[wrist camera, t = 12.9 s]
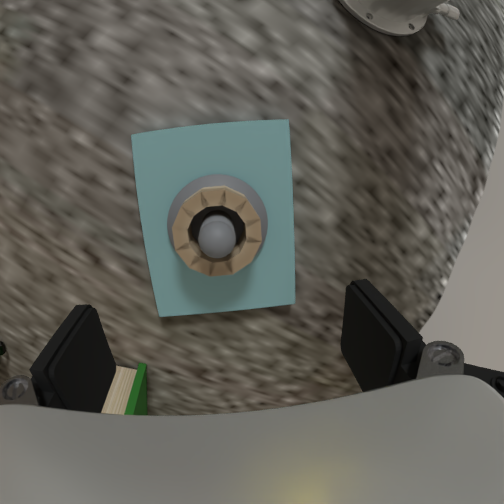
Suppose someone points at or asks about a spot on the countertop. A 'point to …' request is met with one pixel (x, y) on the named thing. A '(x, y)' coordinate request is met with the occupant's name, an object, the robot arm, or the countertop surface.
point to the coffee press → (2, 348)
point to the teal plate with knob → (217, 212)
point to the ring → (190, 246)
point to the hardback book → (127, 392)
